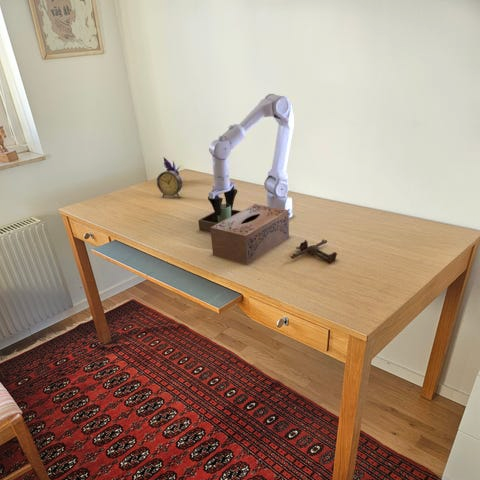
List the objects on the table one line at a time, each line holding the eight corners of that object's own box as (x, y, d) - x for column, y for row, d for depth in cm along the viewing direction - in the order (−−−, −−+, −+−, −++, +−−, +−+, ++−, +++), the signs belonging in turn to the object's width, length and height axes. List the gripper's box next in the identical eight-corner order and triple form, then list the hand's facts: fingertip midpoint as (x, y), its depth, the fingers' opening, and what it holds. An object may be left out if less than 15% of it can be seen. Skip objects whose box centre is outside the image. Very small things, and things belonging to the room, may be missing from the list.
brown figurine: (315, 263, 135) (281, 245, 144) (314, 274, 138) (280, 257, 146) (351, 244, 145) (317, 229, 153) (349, 256, 147) (315, 240, 156)
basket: (252, 224, 173) (252, 212, 170) (230, 238, 162) (229, 226, 160) (222, 218, 180) (221, 207, 177) (199, 231, 169) (198, 220, 167)
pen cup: (234, 225, 171) (233, 204, 167) (226, 229, 168) (225, 209, 163) (223, 222, 174) (222, 202, 170) (215, 227, 170) (213, 207, 166)
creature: (189, 179, 228) (186, 155, 222) (163, 189, 217) (159, 163, 211) (177, 177, 233) (174, 153, 227) (151, 186, 222) (147, 161, 215)
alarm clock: (158, 198, 206) (153, 162, 197) (163, 194, 210) (158, 159, 201) (180, 199, 203) (175, 162, 194) (185, 195, 207) (180, 159, 198)
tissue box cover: (255, 229, 168) (255, 204, 162) (288, 237, 160) (288, 210, 155) (212, 255, 151) (210, 227, 145) (247, 264, 143) (245, 235, 138)
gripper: (224, 169, 167) (226, 204, 175) (200, 179, 157) (204, 216, 165) (239, 171, 164) (241, 207, 171) (216, 181, 154) (219, 219, 161)
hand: (224, 211), depth 168 cm, fingers open, 7 cm apart
